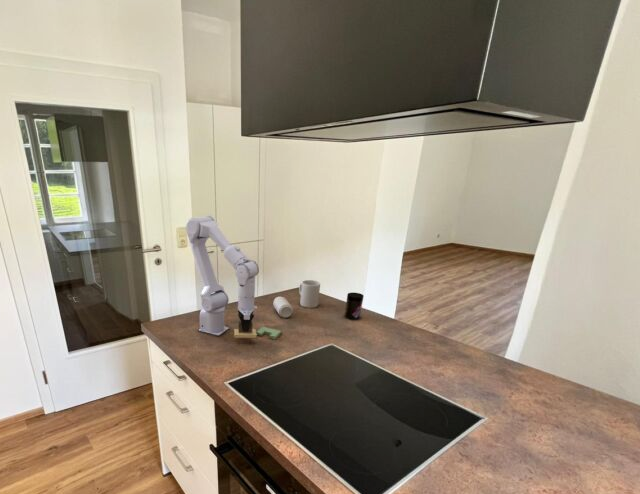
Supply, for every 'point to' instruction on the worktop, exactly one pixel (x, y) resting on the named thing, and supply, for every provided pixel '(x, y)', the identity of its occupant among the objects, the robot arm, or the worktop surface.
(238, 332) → the tab pad
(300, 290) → the mug
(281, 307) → the beverage can
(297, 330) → the worktop surface
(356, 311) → the supplement container
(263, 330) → the notch pad
